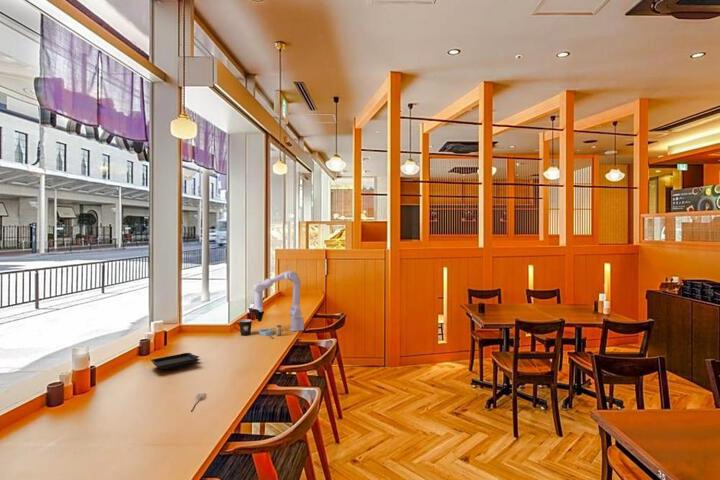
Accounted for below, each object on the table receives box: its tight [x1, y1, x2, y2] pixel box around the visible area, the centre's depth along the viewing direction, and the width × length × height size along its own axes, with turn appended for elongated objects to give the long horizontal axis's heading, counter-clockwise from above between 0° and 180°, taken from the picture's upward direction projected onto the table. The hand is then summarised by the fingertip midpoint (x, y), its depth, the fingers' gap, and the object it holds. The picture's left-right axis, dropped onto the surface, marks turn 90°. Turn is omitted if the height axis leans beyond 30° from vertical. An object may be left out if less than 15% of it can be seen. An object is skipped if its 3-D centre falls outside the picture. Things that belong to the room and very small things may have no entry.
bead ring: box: [258, 328, 275, 337], centre depth 297 cm, size 10×10×2 cm
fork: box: [194, 392, 207, 405], centre depth 180 cm, size 3×21×3 cm, turn 2°
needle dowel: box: [275, 324, 282, 337], centre depth 292 cm, size 3×3×7 cm
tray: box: [150, 352, 200, 371], centre depth 227 cm, size 30×23×5 cm
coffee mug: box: [233, 318, 253, 337], centre depth 294 cm, size 12×9×10 cm
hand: (258, 320), depth 295 cm, fingers open, 7 cm apart
